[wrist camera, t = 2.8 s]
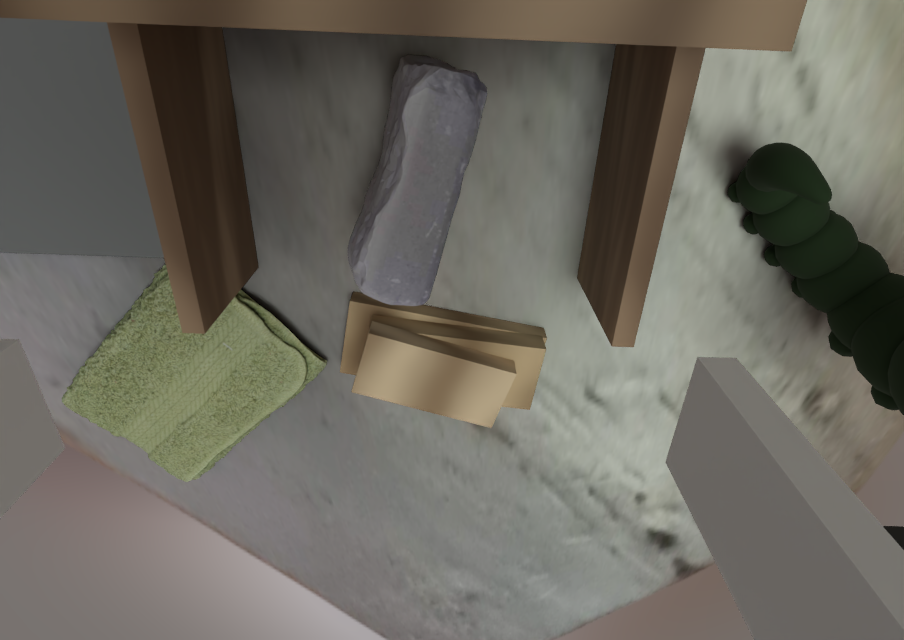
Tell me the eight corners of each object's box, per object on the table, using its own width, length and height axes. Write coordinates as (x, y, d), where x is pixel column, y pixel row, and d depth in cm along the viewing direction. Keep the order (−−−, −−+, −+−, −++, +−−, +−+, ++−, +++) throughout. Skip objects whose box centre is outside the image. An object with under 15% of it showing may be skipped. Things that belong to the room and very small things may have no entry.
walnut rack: (241, 266, 36) (118, 405, 23) (193, -12, 28) (-35, -48, 15) (594, 278, 37) (676, 421, 23) (644, 8, 29) (810, -10, 15)
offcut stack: (344, 359, 40) (330, 401, 36) (354, 288, 37) (341, 324, 33) (520, 390, 42) (529, 434, 37) (543, 324, 39) (555, 363, 34)
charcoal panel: (2, 247, 35) (-7, 252, 35) (-131, -86, 27) (-147, -89, 26) (212, 255, 36) (207, 259, 35) (148, -73, 27) (140, -76, 26)
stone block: (429, 253, 36) (422, 326, 27) (359, 232, 35) (329, 300, 26) (489, 69, 30) (504, 85, 22) (408, 40, 30) (390, 44, 21)
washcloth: (338, 353, 40) (330, 377, 37) (204, 469, 46) (188, 498, 43) (191, 233, 35) (169, 250, 33) (63, 379, 41) (34, 405, 38)
